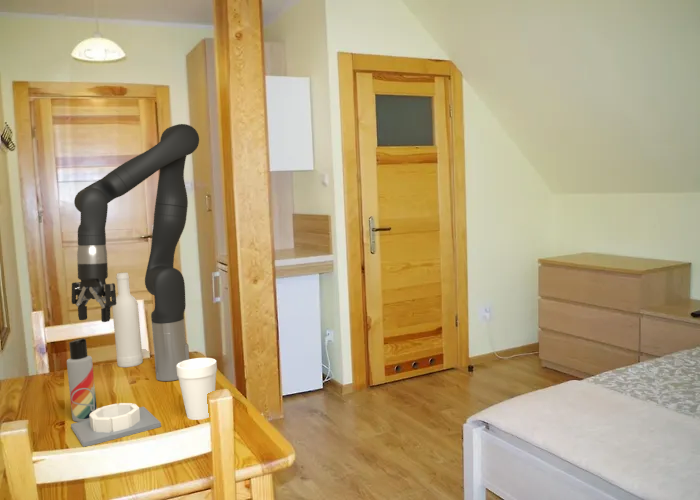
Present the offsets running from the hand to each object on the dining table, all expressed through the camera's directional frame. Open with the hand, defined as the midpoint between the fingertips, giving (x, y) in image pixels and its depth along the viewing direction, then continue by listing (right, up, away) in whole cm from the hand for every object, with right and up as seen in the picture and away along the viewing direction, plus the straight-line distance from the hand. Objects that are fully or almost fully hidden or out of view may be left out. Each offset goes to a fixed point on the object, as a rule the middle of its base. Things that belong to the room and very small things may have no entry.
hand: (94, 320), depth 164 cm
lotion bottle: (+4, -23, -15) cm, 28 cm away
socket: (+15, -23, -23) cm, 35 cm away
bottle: (-2, -18, +31) cm, 36 cm away
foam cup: (+33, -21, -17) cm, 43 cm away
